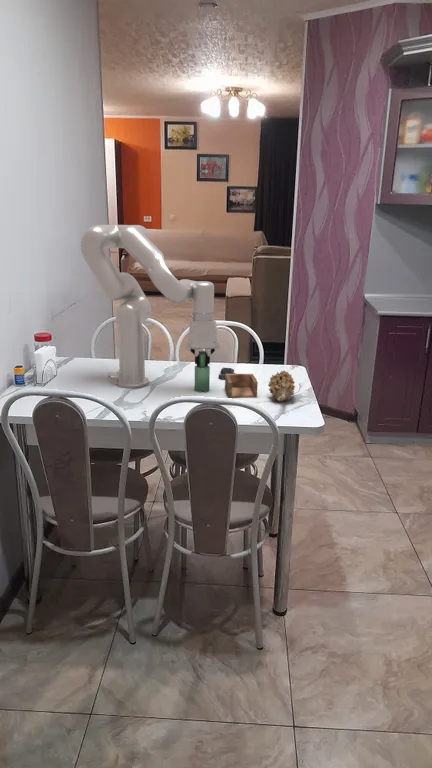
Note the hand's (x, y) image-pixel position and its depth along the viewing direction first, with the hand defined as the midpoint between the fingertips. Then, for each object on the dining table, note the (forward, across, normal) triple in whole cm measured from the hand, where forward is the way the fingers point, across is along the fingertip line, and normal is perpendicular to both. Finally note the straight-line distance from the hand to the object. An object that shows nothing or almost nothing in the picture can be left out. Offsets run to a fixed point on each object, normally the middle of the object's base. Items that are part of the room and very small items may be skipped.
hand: (202, 365), depth 203 cm
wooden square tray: (+9, +14, -4) cm, 17 cm away
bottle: (+9, 0, 0) cm, 9 cm away
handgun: (+10, +16, +16) cm, 25 cm away
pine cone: (+10, +27, -15) cm, 32 cm away
